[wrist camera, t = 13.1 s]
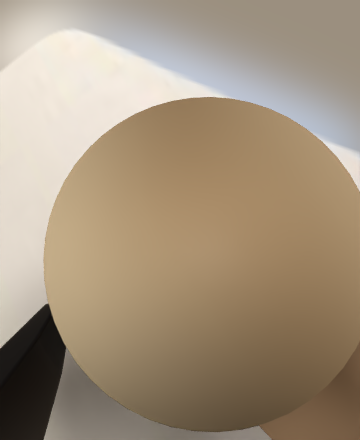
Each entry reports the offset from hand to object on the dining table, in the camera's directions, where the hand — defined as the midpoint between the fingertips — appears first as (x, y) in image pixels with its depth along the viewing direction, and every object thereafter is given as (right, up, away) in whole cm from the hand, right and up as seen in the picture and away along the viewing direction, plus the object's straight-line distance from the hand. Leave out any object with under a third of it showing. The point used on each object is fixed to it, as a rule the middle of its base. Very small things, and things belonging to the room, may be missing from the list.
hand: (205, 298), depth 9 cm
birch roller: (0, 0, +7) cm, 7 cm away
